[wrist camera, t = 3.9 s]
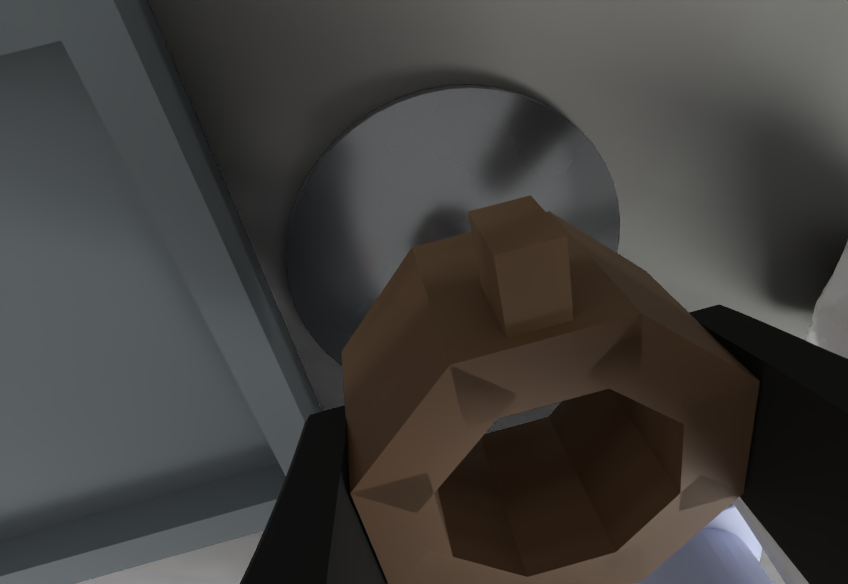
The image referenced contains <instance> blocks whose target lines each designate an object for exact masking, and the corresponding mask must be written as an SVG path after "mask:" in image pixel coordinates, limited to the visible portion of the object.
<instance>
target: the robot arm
mask: <svg viewBox="0 0 848 584" xmlns="http://www.w3.org/2000/svg"><path fill="white" fill-rule="evenodd" d="M690 314H691V315H692V316H693V317H694V318H695V319H696V320H697V321H698V322H699V323H700V324H701V325H702V326H703V327H704V328H705V329H706V330H707V331H708V332H709V333H710V334H711V335H712V336H713V337H714V338H715V339H716V340H717V341H718V342H719V343H720V344H721V345H723V346H724V347H725V348H726V349H727V350H728V351H729V352H730V353H731V354H732V355H733V356H734V357H735V358H736V359H737V360H738V361H739V362H740V363H742V364H743V365H744V366H745V367H746V368H747V369H748V370H749V371H750V372H751V373H752V374H753V375H754V376H755V377H756V378H757V379H758V380H759V381H760V384H759V391H758V398H757V404H756V411H755V418H754V425H753V432H752V439H751V445H750V452H749V459H748V466H747V473H746V479H745V486H744V493H743V494H742V495H741V496H740V498H741V499H742V500H743V502H744V503H745V504H746V506H747V507H748V508H749V509H750V511H751V512H752V513H753V514H754V516H755V517H756V518H757V519H758V521H759V522H760V523H761V524H762V525H763V527H764V528H765V529H766V530H767V532H768V533H769V534H770V535H771V537H772V538H773V539H774V540H775V542H776V543H777V544H778V545H779V547H780V548H781V549H782V550H783V552H784V553H785V554H786V555H787V557H788V558H789V559H790V560H791V562H792V563H793V564H794V565H795V567H796V568H797V569H798V570H799V572H800V573H801V574H802V575H803V577H804V578H805V579H806V580H807V582H808V583H809V584H848V359H847V358H845V357H842V356H840V355H837V354H835V353H833V352H830V351H828V350H826V349H823V348H821V347H819V346H816V345H814V344H812V343H810V342H807V341H805V340H803V339H800V338H798V337H796V336H793V335H791V334H789V333H787V332H784V331H782V330H780V329H777V328H775V327H773V326H770V325H768V324H766V323H763V322H761V321H759V320H756V319H754V318H752V317H749V316H747V315H745V314H742V313H740V312H737V311H735V310H732V309H730V308H727V307H724V306H722V305H716V306H712V307H709V308H705V309H701V310H697V311H694V312H690ZM761 551H762V546H761V545H760V543H759V542H758V540H757V539H756V537H755V535H754V534H753V532H752V531H751V529H750V528H749V526H748V525H747V523H746V521H745V520H744V518H743V517H742V516H741V514H740V513H739V511H738V510H737V508H736V507H735V505H734V504H733V503H732V504H730V505H729V506H728V507H727V508H726V509H725V510H724V511H722V512H721V513H720V514H719V515H718V516H717V517H715V518H714V519H713V520H712V521H711V522H710V523H709V524H707V525H706V526H705V527H704V528H703V529H702V530H700V531H699V532H698V533H697V534H696V535H695V536H694V537H692V538H691V539H690V540H689V541H688V542H687V543H686V544H684V545H683V546H682V547H681V548H680V549H679V550H677V551H676V552H675V553H674V554H673V555H672V556H671V557H669V558H668V559H667V560H666V561H665V562H664V563H662V564H661V565H660V566H659V567H658V568H657V569H656V570H654V571H653V572H652V573H651V574H650V575H649V576H648V577H646V578H645V579H644V580H643V581H641V582H638V583H634V584H775V583H774V581H773V580H772V579H771V577H770V576H769V575H768V573H767V572H766V570H765V569H764V568H763V566H762V565H761V564H760V556H761ZM240 584H388V582H387V579H386V577H385V575H384V572H383V570H382V567H381V565H380V563H379V560H378V558H377V556H376V553H375V551H374V549H373V546H372V544H371V541H370V539H369V537H368V534H367V532H366V530H365V527H364V525H363V522H362V520H361V518H360V515H359V513H358V511H357V508H356V506H355V503H354V501H353V499H352V496H351V494H350V482H349V466H348V438H347V423H346V417H345V406H341V407H337V408H333V409H330V410H326V411H322V412H319V413H315V414H311V415H309V417H308V418H307V420H306V421H305V423H304V427H303V430H302V433H301V436H300V439H299V442H298V445H297V448H296V450H295V453H294V456H293V459H292V462H291V464H290V467H289V470H288V472H287V475H286V478H285V480H284V483H283V486H282V488H281V491H280V493H279V496H278V498H277V501H276V503H275V506H274V508H273V510H272V513H271V515H270V518H269V520H268V522H267V525H266V527H265V530H264V532H263V534H262V537H261V539H260V541H259V544H258V546H257V548H256V551H255V553H254V555H253V557H252V559H251V561H250V563H249V565H248V568H247V570H246V572H245V574H244V576H243V578H242V580H241V582H240Z"/></svg>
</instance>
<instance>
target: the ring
mask: <svg viewBox="0 0 848 584" xmlns="http://www.w3.org/2000/svg"><path fill="white" fill-rule="evenodd" d="M468 215H469V220H470V226H471V232H468V233H464V234H460V235H457V236H453V237H449V238H445V239H441V240H438V241H434V242H430V243H426V244H422V245H418V246H415V247H412V248H411V249H410V251H409V252H408V254H407V255H406V257H405V258H404V259H403V261H402V262H401V264H400V265H399V267H398V268H397V270H396V271H395V273H394V274H393V276H392V277H391V279H390V280H389V282H388V283H387V285H386V286H385V288H384V289H383V291H382V292H381V294H380V295H379V297H378V298H377V300H376V301H375V303H374V304H373V306H372V307H371V308H370V310H369V311H368V313H367V314H366V316H365V317H364V319H363V320H362V322H361V323H360V325H359V326H358V328H357V329H356V331H355V332H354V334H353V335H352V337H351V338H350V340H349V341H348V343H347V344H346V346H345V347H344V349H343V350H342V352H341V353H342V369H343V385H344V401H345V417H346V423H347V438H348V466H349V482H350V494H351V496H352V499H353V501H354V503H355V506H356V508H357V511H358V513H359V515H360V518H361V520H362V522H363V525H364V527H365V530H366V532H367V534H368V537H369V539H370V541H371V544H372V546H373V549H374V551H375V553H376V556H377V558H378V560H379V563H380V565H381V567H382V570H383V572H384V575H385V577H386V579H387V582H388V584H634V583H638V582H641V581H643V580H644V579H645V578H646V577H648V576H649V575H650V574H651V573H652V572H653V571H654V570H656V569H657V568H658V567H659V566H660V565H661V564H662V563H664V562H665V561H666V560H667V559H668V558H669V557H671V556H672V555H673V554H674V553H675V552H676V551H677V550H679V549H680V548H681V547H682V546H683V545H684V544H686V543H687V542H688V541H689V540H690V539H691V538H692V537H694V536H695V535H696V534H697V533H698V532H699V531H700V530H702V529H703V528H704V527H705V526H706V525H707V524H709V523H710V522H711V521H712V520H713V519H714V518H715V517H717V516H718V515H719V514H720V513H721V512H722V511H724V510H725V509H726V508H727V507H728V506H729V505H730V504H732V503H733V502H734V501H735V500H736V499H737V498H738V497H740V496H741V495H742V494H743V493H744V486H745V479H746V473H747V466H748V459H749V452H750V445H751V439H752V432H753V425H754V418H755V411H756V404H757V398H758V391H759V384H760V381H759V380H758V379H757V378H756V377H755V376H754V375H753V374H752V373H751V372H750V371H749V370H748V369H747V368H746V367H745V366H744V365H743V364H742V363H740V362H739V361H738V360H737V359H736V358H735V357H734V356H733V355H732V354H731V353H730V352H729V351H728V350H727V349H726V348H725V347H724V346H723V345H721V344H720V343H719V342H718V341H717V340H716V339H715V338H714V337H713V336H712V335H711V334H710V333H709V332H708V331H707V330H706V329H705V328H704V327H703V326H702V325H701V324H700V323H699V322H698V321H697V320H696V319H695V318H694V317H693V316H692V315H691V314H690V313H689V312H688V311H687V310H686V309H684V308H683V307H682V306H681V305H680V304H679V303H678V302H677V301H676V300H675V299H674V298H673V297H672V296H671V295H670V294H669V293H668V292H667V291H666V290H665V289H664V288H663V287H662V286H661V285H660V284H659V283H657V282H656V281H655V280H654V279H653V278H652V277H651V276H650V275H649V274H648V273H647V272H646V271H645V270H643V269H642V268H640V267H638V266H637V265H635V264H634V263H632V262H630V261H629V260H627V259H626V258H624V257H622V256H621V255H619V254H618V253H616V252H614V251H613V250H611V249H609V248H608V247H606V246H605V245H603V244H601V243H600V242H598V241H597V240H595V239H593V238H592V237H590V236H589V235H587V234H585V233H584V232H582V231H580V230H579V229H577V228H576V227H574V226H572V225H571V224H569V223H568V222H566V221H564V220H563V219H561V218H560V217H558V216H556V215H555V214H553V213H552V212H550V211H548V212H545V211H544V210H543V208H542V207H541V206H540V205H539V204H538V203H537V202H536V201H535V199H534V198H533V197H532V196H531V195H529V196H526V197H522V198H518V199H514V200H510V201H506V202H503V203H499V204H495V205H491V206H487V207H483V208H480V209H476V210H472V211H468ZM561 401H562V402H561ZM558 402H561V403H560V405H559V406H558V407H557V408H556V409H555V410H554V411H553V412H552V413H551V415H550V416H549V417H546V418H543V419H539V420H535V421H532V422H528V423H524V424H521V425H517V426H513V427H510V428H506V429H502V430H499V431H495V432H491V433H488V434H485V433H486V432H487V431H488V430H489V428H490V427H491V426H492V425H493V424H494V423H495V421H496V420H497V419H499V418H503V417H506V416H510V415H514V414H517V413H521V412H525V411H528V410H532V409H536V408H539V407H543V406H547V405H550V404H554V403H558Z"/></svg>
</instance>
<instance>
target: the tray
mask: <svg viewBox="0 0 848 584" xmlns="http://www.w3.org/2000/svg"><path fill="white" fill-rule="evenodd" d="M319 412H322V411H321V408H320V406H319V404H318V401H317V399H316V397H315V394H314V392H313V390H312V387H311V385H310V382H309V380H308V378H307V375H306V373H305V371H304V368H303V366H302V364H301V361H300V359H299V357H298V354H297V352H296V350H295V347H294V345H293V342H292V340H291V338H290V335H289V333H288V331H287V328H286V326H285V324H284V321H283V319H282V317H281V314H280V312H279V310H278V307H277V305H276V303H275V300H274V298H273V295H272V293H271V291H270V288H269V286H268V284H267V281H266V279H265V277H264V274H263V272H262V270H261V267H260V265H259V263H258V260H257V258H256V255H255V253H254V251H253V248H252V246H251V244H250V241H249V239H248V237H247V234H246V232H245V230H244V227H243V225H242V223H241V220H240V218H239V215H238V213H237V211H236V208H235V206H234V204H233V201H232V199H231V197H230V194H229V192H228V190H227V187H226V185H225V183H224V180H223V178H222V176H221V173H220V171H219V168H218V166H217V164H216V161H215V159H214V157H213V154H212V152H211V150H210V147H209V145H208V143H207V140H206V138H205V136H204V133H203V131H202V128H201V126H200V124H199V121H198V119H197V117H196V114H195V112H194V110H193V107H192V105H191V103H190V100H189V98H188V96H187V93H186V91H185V88H184V86H183V84H182V81H181V79H180V77H179V74H178V72H177V70H176V67H175V65H174V63H173V60H172V58H171V56H170V53H169V51H168V49H167V46H166V44H165V41H164V39H163V37H162V34H161V32H160V30H159V27H158V25H157V23H156V20H155V18H154V16H153V13H152V11H151V9H150V6H149V4H148V1H147V0H0V584H74V583H78V582H82V581H85V580H89V579H92V578H96V577H99V576H103V575H107V574H110V573H114V572H117V571H121V570H124V569H128V568H132V567H135V566H139V565H142V564H146V563H149V562H153V561H156V560H160V559H164V558H167V557H171V556H174V555H178V554H181V553H185V552H189V551H192V550H196V549H199V548H203V547H206V546H210V545H214V544H217V543H221V542H224V541H228V540H231V539H235V538H239V537H242V536H246V535H249V534H253V533H256V532H260V531H263V530H265V527H266V525H267V522H268V520H269V518H270V515H271V513H272V510H273V508H274V506H275V503H276V501H277V498H278V496H279V493H280V491H281V488H282V486H283V483H284V480H285V478H286V475H287V472H288V470H289V467H290V464H291V462H292V459H293V456H294V453H295V450H296V448H297V445H298V442H299V439H300V436H301V433H302V430H303V427H304V423H305V421H306V420H307V418H308V417H309V415H311V414H315V413H319Z"/></svg>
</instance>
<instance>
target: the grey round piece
mask: <svg viewBox="0 0 848 584" xmlns="http://www.w3.org/2000/svg"><path fill="white" fill-rule="evenodd" d="M529 195H531V196H532V197H533V198H534V199H535V201H536V202H537V203H538V204H539V205H540V206H541V207H542V208H543V210H544V211H545V212H548V211H550V212H552V213H553V214H555V215H556V216H558V217H560V218H561V219H563V220H564V221H566V222H568V223H569V224H571V225H572V226H574V227H576V228H577V229H579V230H580V231H582V232H584V233H585V234H587V235H589V236H590V237H592V238H593V239H595V240H597V241H598V242H600V243H601V244H603V245H605V246H606V247H608V248H609V249H611V250H613V251H614V252H616V253H617V250H618V244H619V232H620V216H619V206H618V199H617V195H616V191H615V187H614V184H613V181H612V178H611V176H610V173H609V171H608V169H607V166H606V164H605V162H604V161H603V159H602V158H601V156H600V154H599V153H598V151H597V150H596V148H595V146H594V145H593V144H592V143H591V142H590V141H589V139H588V138H587V137H586V136H585V135H584V134H583V133H582V131H581V130H580V129H578V128H577V127H576V126H575V125H573V124H572V123H571V122H570V121H569V120H567V119H566V118H565V117H564V116H562V115H561V114H559V113H558V112H556V111H555V110H553V109H551V108H549V107H548V106H546V105H544V104H543V103H541V102H539V101H538V100H535V99H533V98H530V97H528V96H525V95H523V94H520V93H518V92H514V91H510V90H506V89H501V88H497V87H491V86H480V85H453V86H442V87H437V88H432V89H426V90H421V91H418V92H415V93H412V94H409V95H406V96H403V97H400V98H397V99H395V100H393V101H391V102H389V103H387V104H385V105H383V106H381V107H379V108H377V109H375V110H373V111H372V112H370V113H369V114H367V115H366V116H364V117H363V118H361V119H360V120H358V121H357V122H355V123H354V124H353V125H351V126H350V127H349V128H348V129H347V130H346V131H345V132H344V133H342V134H341V135H340V136H339V137H338V138H337V139H336V140H335V141H334V142H333V143H332V144H331V145H330V146H329V148H328V149H327V150H326V151H325V152H324V153H323V154H322V156H321V157H320V158H319V159H318V161H317V162H316V164H315V166H314V167H313V169H312V170H311V172H310V173H309V175H308V176H307V178H306V180H305V182H304V184H303V186H302V189H301V191H300V193H299V195H298V197H297V200H296V203H295V207H294V210H293V213H292V217H291V220H290V227H289V234H288V241H287V273H288V280H289V286H290V291H291V294H292V297H293V300H294V303H295V306H296V309H297V311H298V313H299V315H300V317H301V319H302V321H303V323H304V325H305V327H306V328H307V329H308V331H309V332H310V334H311V335H312V337H313V338H314V340H315V341H316V342H317V343H318V344H319V345H320V346H321V347H322V348H323V350H324V351H325V352H326V353H327V354H328V355H329V356H331V357H332V358H333V359H334V360H335V361H337V362H338V363H339V364H340V365H342V353H341V352H342V350H343V349H344V347H345V346H346V344H347V343H348V341H349V340H350V338H351V337H352V335H353V334H354V332H355V331H356V329H357V328H358V326H359V325H360V323H361V322H362V320H363V319H364V317H365V316H366V314H367V313H368V311H369V310H370V308H371V307H372V306H373V304H374V303H375V301H376V300H377V298H378V297H379V295H380V294H381V292H382V291H383V289H384V288H385V286H386V285H387V283H388V282H389V280H390V279H391V277H392V276H393V274H394V273H395V271H396V270H397V268H398V267H399V265H400V264H401V262H402V261H403V259H404V258H405V257H406V255H407V254H408V252H409V251H410V249H411V248H412V247H415V246H418V245H422V244H426V243H430V242H434V241H438V240H441V239H445V238H449V237H453V236H457V235H460V234H464V233H468V232H471V226H470V220H469V215H468V211H472V210H476V209H480V208H483V207H487V206H491V205H495V204H499V203H503V202H506V201H510V200H514V199H518V198H522V197H526V196H529Z"/></svg>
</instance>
